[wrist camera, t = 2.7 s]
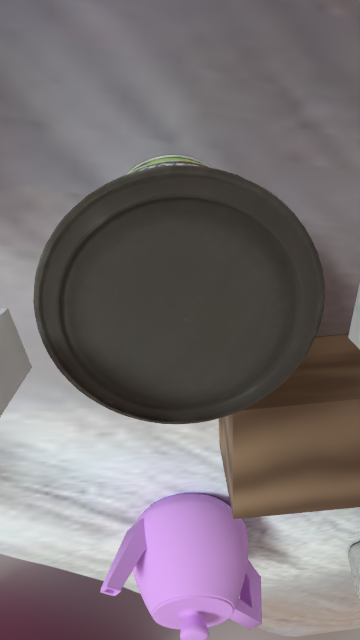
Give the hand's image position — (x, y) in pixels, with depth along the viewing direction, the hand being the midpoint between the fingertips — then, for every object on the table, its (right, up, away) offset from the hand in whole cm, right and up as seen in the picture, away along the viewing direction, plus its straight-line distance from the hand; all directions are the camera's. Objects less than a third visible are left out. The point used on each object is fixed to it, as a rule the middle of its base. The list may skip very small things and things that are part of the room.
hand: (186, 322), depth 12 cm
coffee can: (-1, +7, +12) cm, 14 cm away
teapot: (+1, -28, +32) cm, 42 cm away
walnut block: (+11, -8, +20) cm, 24 cm away
